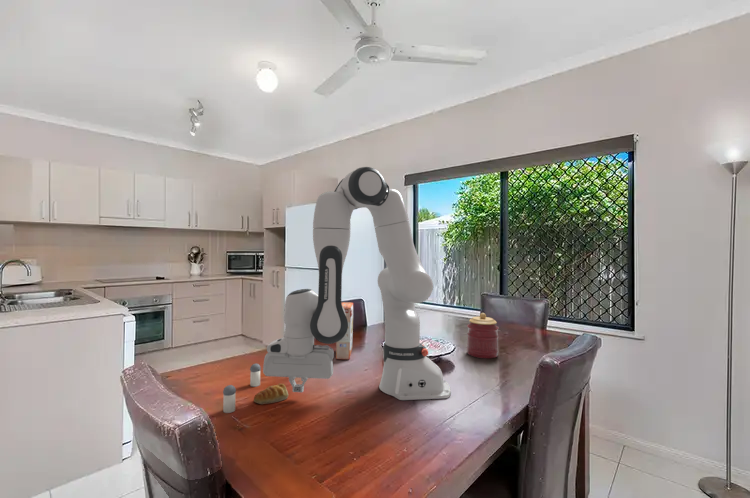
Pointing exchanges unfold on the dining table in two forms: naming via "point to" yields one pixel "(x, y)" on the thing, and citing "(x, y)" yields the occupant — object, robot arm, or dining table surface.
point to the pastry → (271, 394)
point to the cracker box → (346, 335)
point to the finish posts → (231, 390)
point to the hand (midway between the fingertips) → (298, 391)
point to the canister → (482, 337)
